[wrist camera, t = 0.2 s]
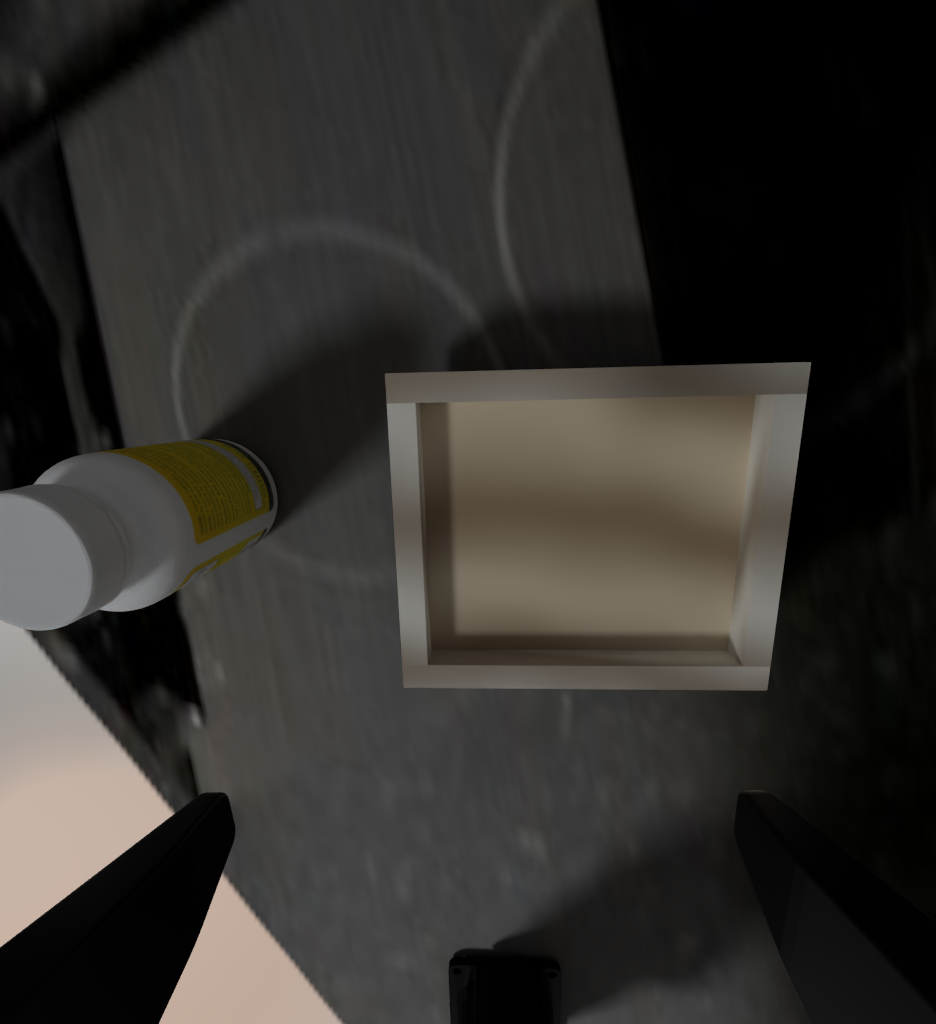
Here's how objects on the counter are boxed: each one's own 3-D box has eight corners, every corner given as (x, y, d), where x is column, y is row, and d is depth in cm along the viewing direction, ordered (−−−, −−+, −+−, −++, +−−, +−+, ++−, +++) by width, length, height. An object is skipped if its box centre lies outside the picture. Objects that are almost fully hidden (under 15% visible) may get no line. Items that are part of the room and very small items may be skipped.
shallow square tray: (710, 632, 23) (767, 690, 18) (420, 631, 23) (403, 687, 19) (737, 371, 20) (811, 361, 15) (408, 380, 21) (385, 373, 16)
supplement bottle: (184, 418, 21) (-62, 430, 12) (295, 464, 22) (142, 513, 12) (156, 524, 23) (-88, 612, 13) (262, 566, 23) (98, 683, 13)
